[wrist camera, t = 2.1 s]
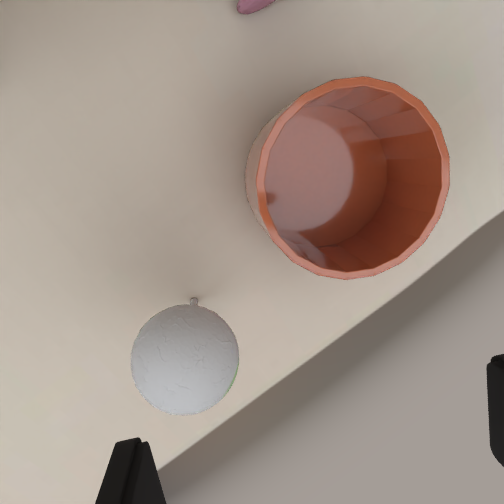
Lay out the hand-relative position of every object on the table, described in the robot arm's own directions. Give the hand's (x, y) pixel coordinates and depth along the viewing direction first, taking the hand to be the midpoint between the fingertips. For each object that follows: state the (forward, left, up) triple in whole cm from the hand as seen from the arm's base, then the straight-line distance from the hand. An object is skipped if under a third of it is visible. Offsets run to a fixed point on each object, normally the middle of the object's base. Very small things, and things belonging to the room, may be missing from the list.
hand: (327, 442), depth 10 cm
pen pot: (+8, +5, -27) cm, 29 cm away
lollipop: (-5, -5, -27) cm, 28 cm away
